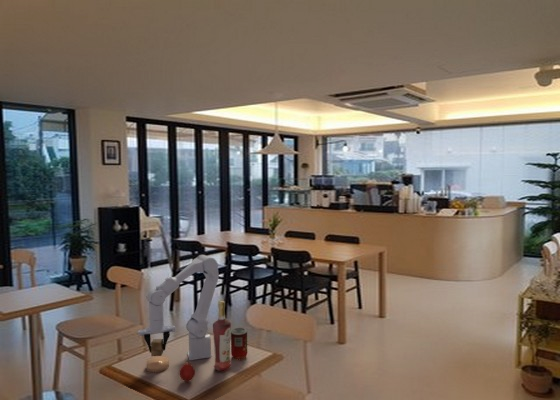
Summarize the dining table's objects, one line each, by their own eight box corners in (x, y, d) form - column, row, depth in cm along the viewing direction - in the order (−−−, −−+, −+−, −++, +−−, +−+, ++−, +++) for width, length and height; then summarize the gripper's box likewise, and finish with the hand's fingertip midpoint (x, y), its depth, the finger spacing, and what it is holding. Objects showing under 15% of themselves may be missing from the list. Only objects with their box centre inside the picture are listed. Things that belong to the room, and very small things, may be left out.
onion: (181, 378, 159) (180, 358, 159) (195, 377, 160) (195, 358, 159) (178, 386, 153) (178, 365, 153) (194, 385, 154) (193, 365, 153)
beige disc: (168, 360, 175) (168, 354, 174) (169, 370, 166) (169, 364, 166) (146, 363, 172) (146, 358, 171) (146, 373, 163) (146, 367, 163)
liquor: (223, 375, 162) (222, 306, 160) (209, 370, 165) (208, 303, 164) (235, 367, 168) (234, 300, 166) (221, 363, 172) (220, 298, 170)
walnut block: (163, 351, 171) (163, 338, 170) (161, 355, 167) (160, 342, 166) (153, 352, 170) (153, 339, 170) (151, 356, 166) (150, 343, 166)
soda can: (248, 360, 174) (248, 332, 174) (232, 361, 173) (231, 333, 172) (246, 353, 181) (245, 326, 181) (230, 354, 180) (229, 327, 179)
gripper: (173, 313, 174) (174, 344, 174) (137, 317, 169) (138, 349, 170) (175, 318, 167) (175, 350, 168) (137, 323, 162) (138, 356, 163)
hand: (157, 350), depth 168 cm, fingers closed on walnut block, 5 cm apart
